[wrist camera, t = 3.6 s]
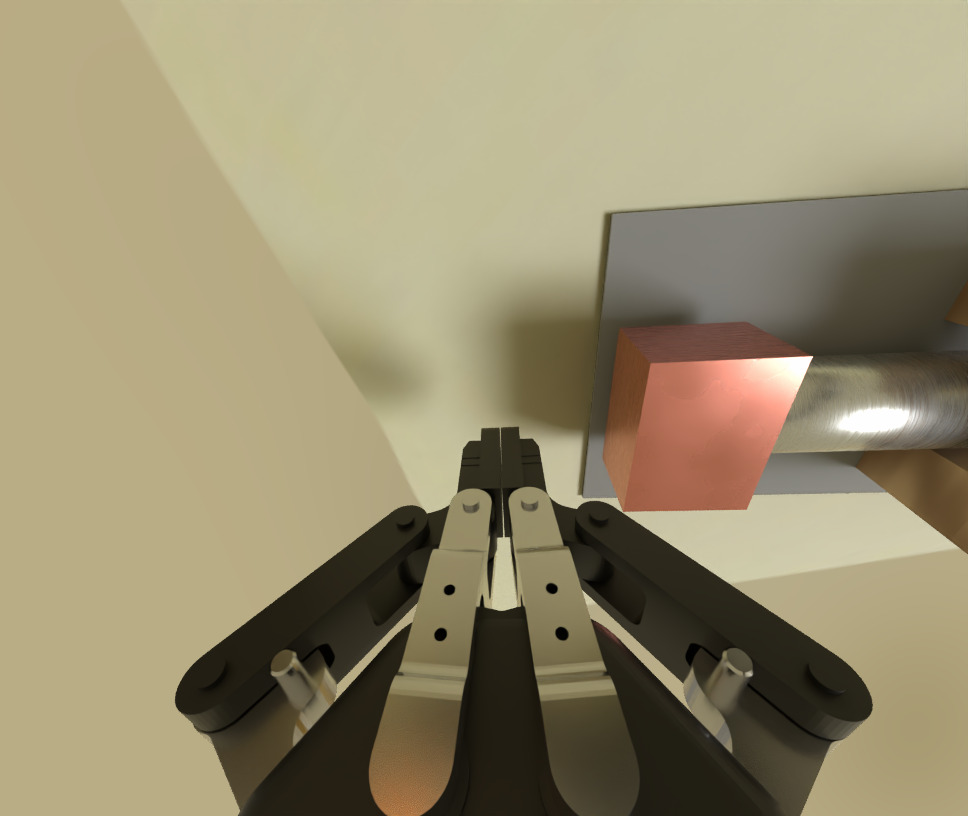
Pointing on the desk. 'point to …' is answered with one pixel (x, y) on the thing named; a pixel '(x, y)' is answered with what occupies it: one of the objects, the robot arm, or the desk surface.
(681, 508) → the pin
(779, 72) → the desk surface
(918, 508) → the wooden block
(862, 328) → the mat
